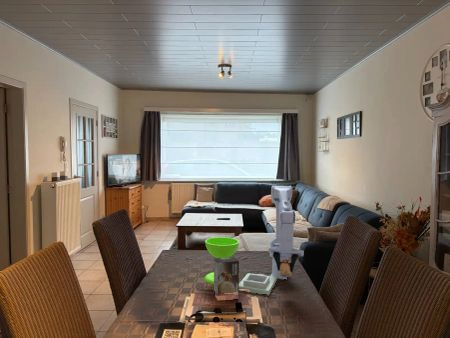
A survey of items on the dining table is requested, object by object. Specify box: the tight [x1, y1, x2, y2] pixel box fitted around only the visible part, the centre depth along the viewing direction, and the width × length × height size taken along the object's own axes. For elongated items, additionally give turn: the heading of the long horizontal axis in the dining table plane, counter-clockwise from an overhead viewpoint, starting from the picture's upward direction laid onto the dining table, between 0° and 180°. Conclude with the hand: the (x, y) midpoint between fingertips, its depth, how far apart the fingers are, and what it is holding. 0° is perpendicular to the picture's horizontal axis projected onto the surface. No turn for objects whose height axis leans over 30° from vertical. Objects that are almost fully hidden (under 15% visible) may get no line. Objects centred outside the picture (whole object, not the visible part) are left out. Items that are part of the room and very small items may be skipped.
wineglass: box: [204, 236, 240, 285], centre depth 169 cm, size 16×16×18 cm
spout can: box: [279, 258, 292, 278], centre depth 153 cm, size 5×5×6 cm
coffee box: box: [213, 256, 240, 294], centre depth 148 cm, size 9×6×16 cm
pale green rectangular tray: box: [239, 272, 278, 296], centre depth 162 cm, size 18×14×4 cm
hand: (285, 270), depth 153 cm, fingers closed on spout can, 5 cm apart
